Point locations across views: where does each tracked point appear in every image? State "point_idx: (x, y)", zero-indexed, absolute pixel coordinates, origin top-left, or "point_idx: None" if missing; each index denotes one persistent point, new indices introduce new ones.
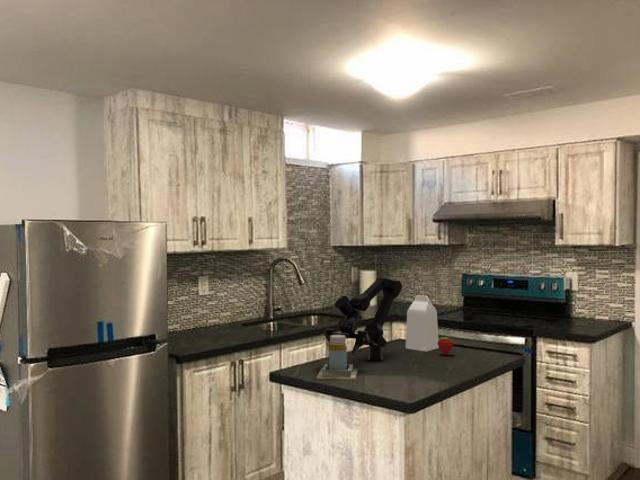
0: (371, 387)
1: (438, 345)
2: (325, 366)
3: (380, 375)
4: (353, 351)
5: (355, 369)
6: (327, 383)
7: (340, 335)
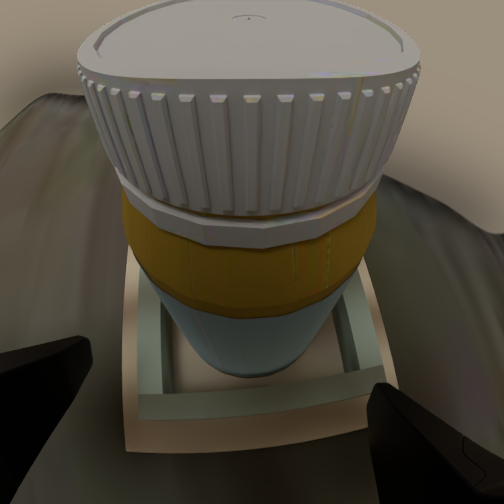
0: (82, 153)
1: None
2: (353, 294)
3: (10, 340)
4: (64, 339)
5: (140, 448)
6: None
7: (197, 61)
